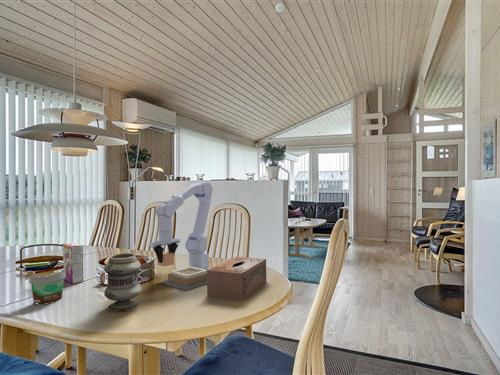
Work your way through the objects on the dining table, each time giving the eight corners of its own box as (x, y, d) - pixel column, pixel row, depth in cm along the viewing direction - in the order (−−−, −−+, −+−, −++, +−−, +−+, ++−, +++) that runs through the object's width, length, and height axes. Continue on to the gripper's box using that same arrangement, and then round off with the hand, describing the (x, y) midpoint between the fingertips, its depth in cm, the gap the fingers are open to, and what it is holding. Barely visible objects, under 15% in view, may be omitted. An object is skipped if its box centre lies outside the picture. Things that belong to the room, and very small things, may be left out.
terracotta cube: (167, 262, 151) (167, 251, 151) (173, 264, 148) (173, 253, 148) (157, 264, 148) (157, 253, 148) (164, 266, 144) (164, 255, 144)
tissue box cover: (241, 301, 120) (241, 273, 120) (207, 296, 126) (206, 269, 126) (266, 281, 144) (266, 258, 144) (236, 278, 150) (236, 256, 150)
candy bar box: (62, 279, 150) (62, 243, 150) (74, 277, 154) (74, 242, 154) (71, 284, 143) (71, 246, 142) (83, 282, 146) (83, 244, 146)
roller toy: (103, 281, 146) (102, 268, 146) (117, 281, 146) (117, 268, 146) (98, 284, 142) (98, 271, 142) (113, 284, 142) (113, 271, 142)
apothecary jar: (104, 315, 107) (103, 260, 107) (104, 303, 118) (103, 253, 118) (143, 309, 112) (142, 256, 112) (140, 298, 123) (139, 250, 123)
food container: (37, 308, 115) (37, 279, 115) (29, 305, 118) (28, 277, 118) (72, 297, 125) (72, 271, 125) (63, 295, 129) (63, 269, 129)
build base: (191, 275, 155) (191, 264, 155) (215, 281, 144) (215, 270, 144) (162, 283, 143) (162, 271, 143) (186, 290, 132) (186, 278, 132)
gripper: (173, 228, 156) (174, 257, 156) (145, 231, 145) (146, 262, 145) (182, 229, 151) (183, 259, 151) (154, 233, 140) (155, 265, 140)
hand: (165, 261), depth 148 cm, fingers closed on terracotta cube, 5 cm apart
